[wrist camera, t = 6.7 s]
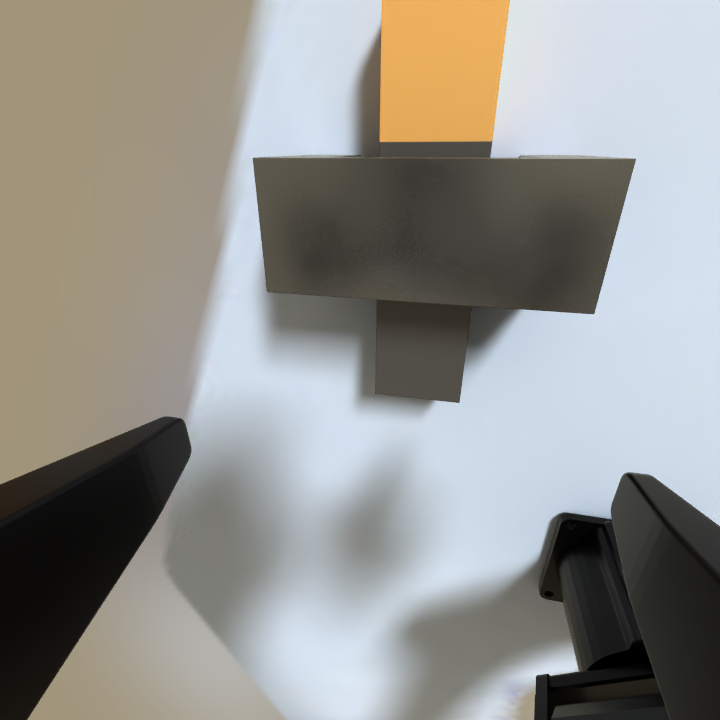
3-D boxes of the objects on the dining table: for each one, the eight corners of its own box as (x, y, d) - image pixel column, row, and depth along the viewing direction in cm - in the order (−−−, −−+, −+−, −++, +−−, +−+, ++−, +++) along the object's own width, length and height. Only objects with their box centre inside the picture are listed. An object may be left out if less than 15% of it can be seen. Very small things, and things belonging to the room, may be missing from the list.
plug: (459, 368, 20) (459, 402, 17) (386, 362, 20) (375, 393, 18) (505, -16, 13) (516, -56, 11) (396, -9, 14) (382, -44, 11)
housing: (555, 266, 17) (594, 314, 12) (317, 254, 19) (267, 292, 14) (579, 155, 15) (636, 158, 10) (312, 155, 17) (252, 157, 12)
